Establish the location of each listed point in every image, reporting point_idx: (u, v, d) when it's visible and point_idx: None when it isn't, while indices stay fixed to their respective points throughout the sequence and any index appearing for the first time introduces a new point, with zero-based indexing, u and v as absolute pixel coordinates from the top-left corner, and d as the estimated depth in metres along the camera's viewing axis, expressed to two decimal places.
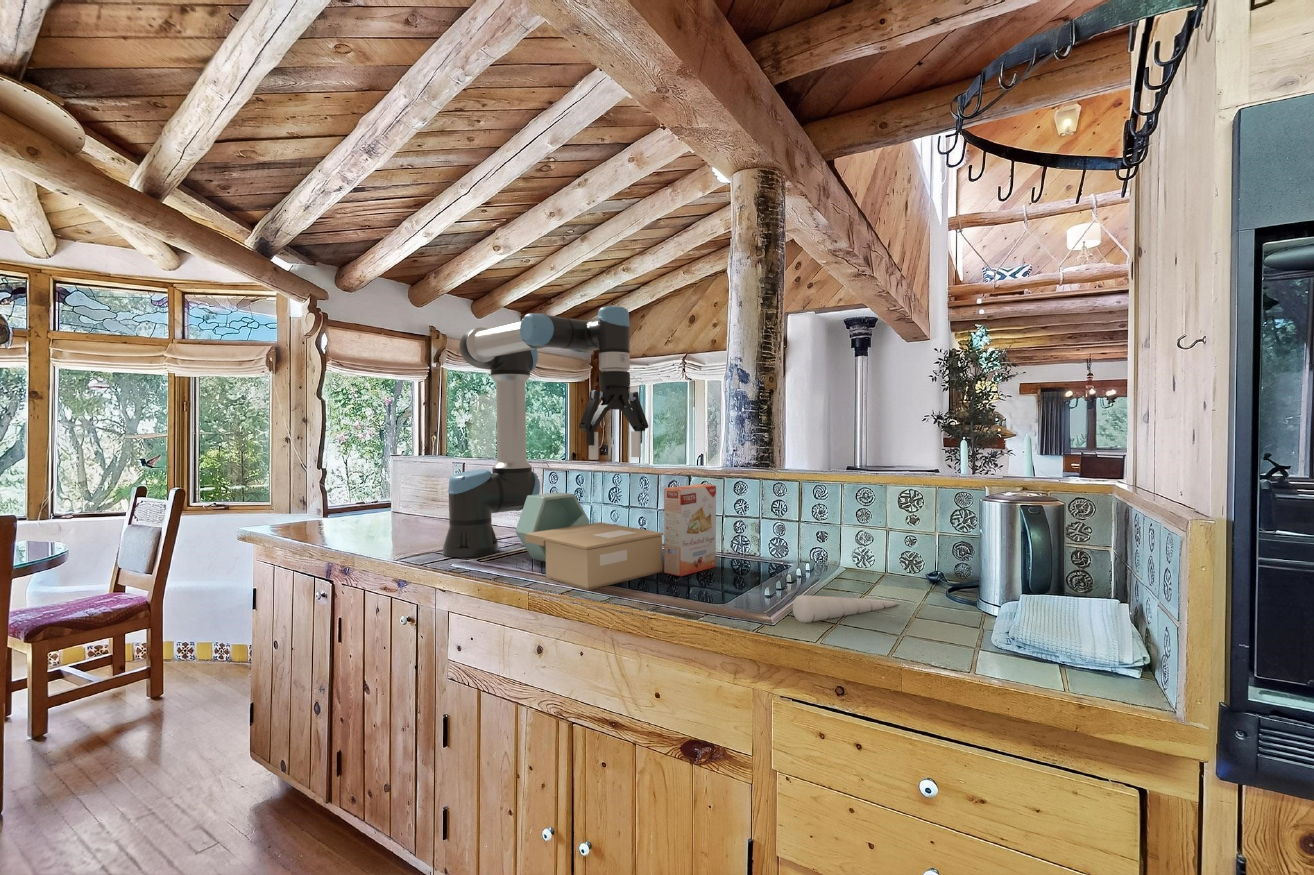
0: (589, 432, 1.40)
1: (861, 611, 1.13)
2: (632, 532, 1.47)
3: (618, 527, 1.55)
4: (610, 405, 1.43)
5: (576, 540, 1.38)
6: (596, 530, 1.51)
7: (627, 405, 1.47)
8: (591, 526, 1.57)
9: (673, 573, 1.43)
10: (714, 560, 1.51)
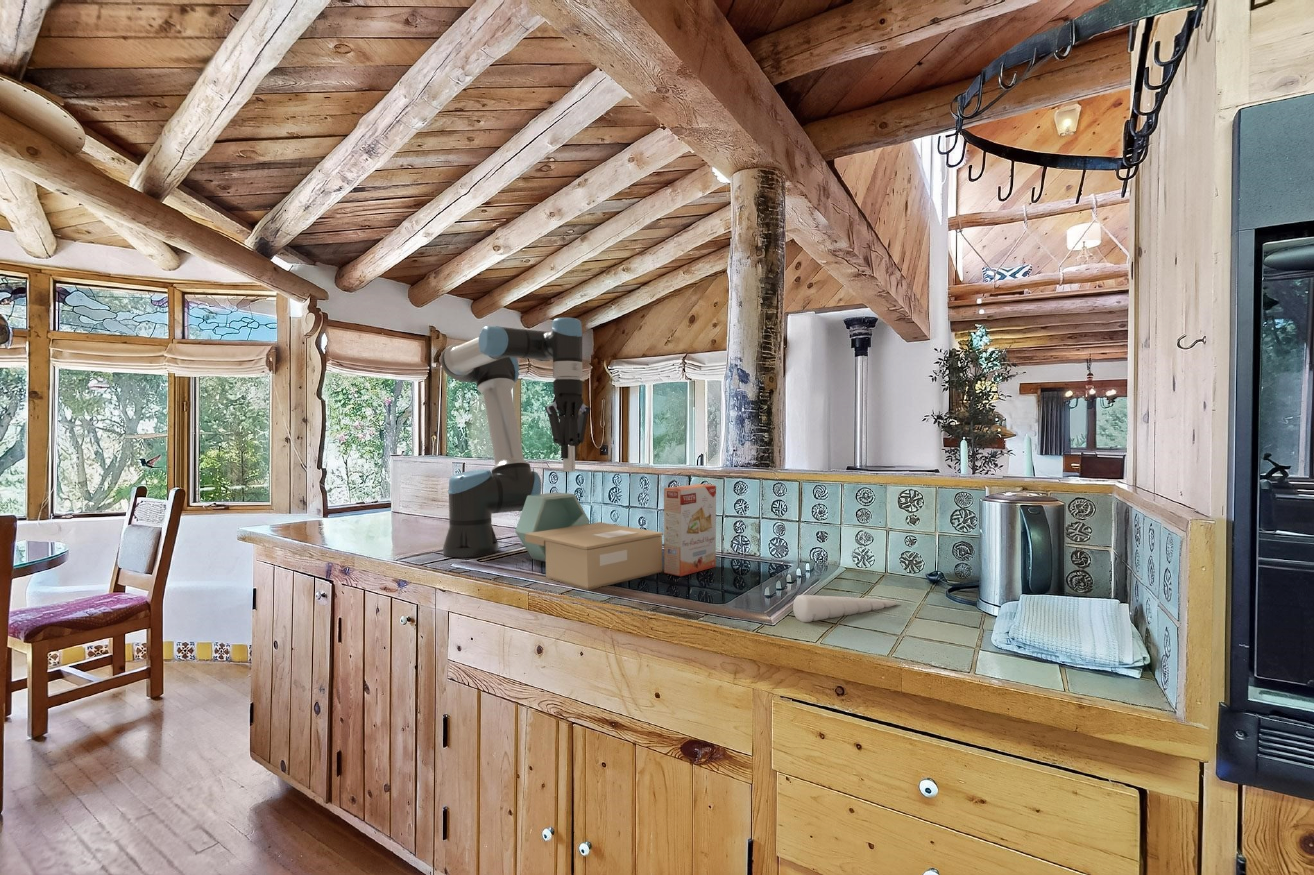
0: (563, 446, 1.52)
1: (861, 611, 1.13)
2: (632, 532, 1.47)
3: (618, 527, 1.55)
4: (568, 414, 1.52)
5: (576, 540, 1.38)
6: (596, 530, 1.51)
7: (575, 413, 1.53)
8: (591, 526, 1.57)
9: (673, 573, 1.43)
10: (714, 560, 1.51)
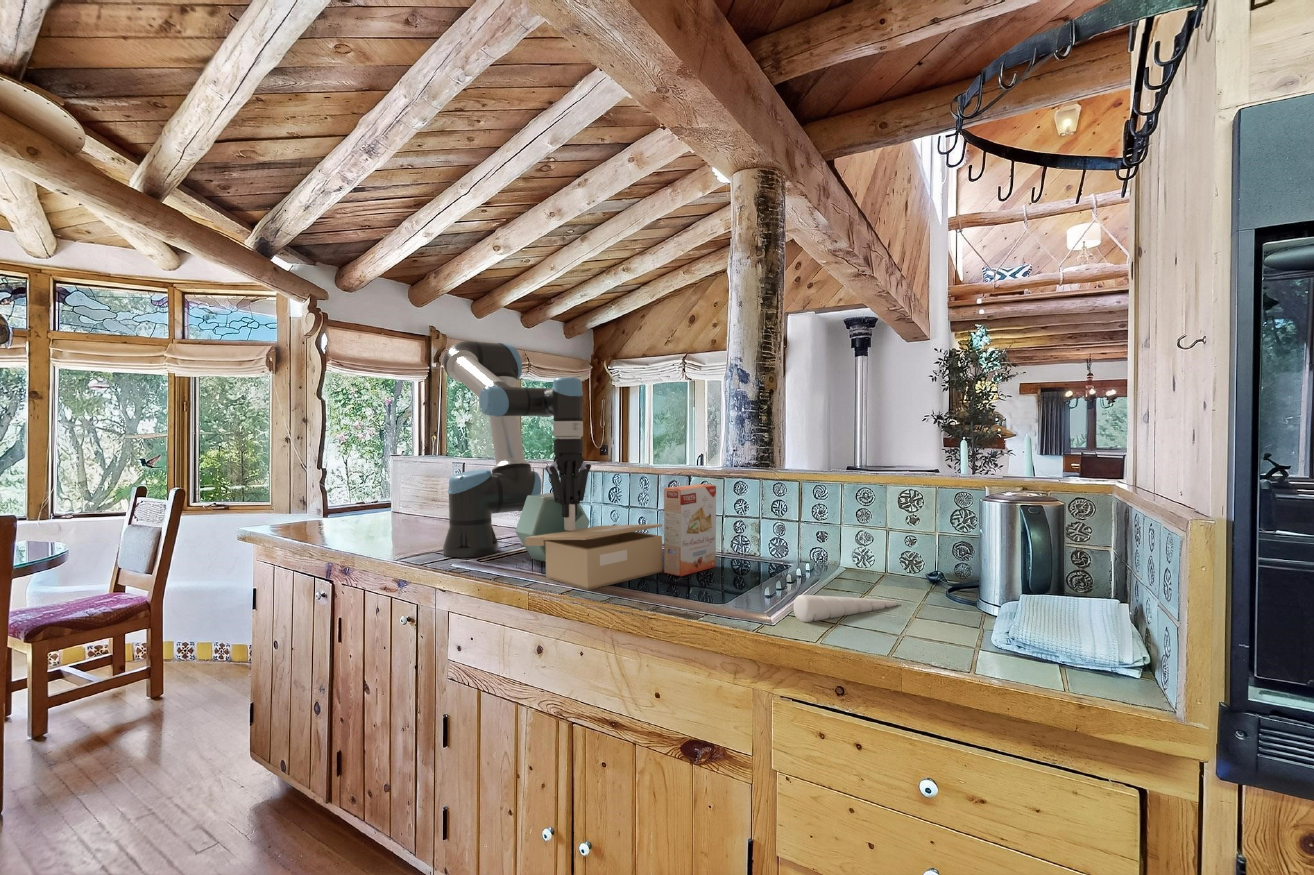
0: (564, 505, 1.53)
1: (862, 611, 1.13)
2: (631, 526, 1.47)
3: (617, 526, 1.55)
4: (569, 473, 1.52)
5: (575, 535, 1.38)
6: (595, 529, 1.51)
7: (576, 472, 1.54)
8: (591, 528, 1.57)
9: (673, 573, 1.43)
10: (714, 560, 1.51)
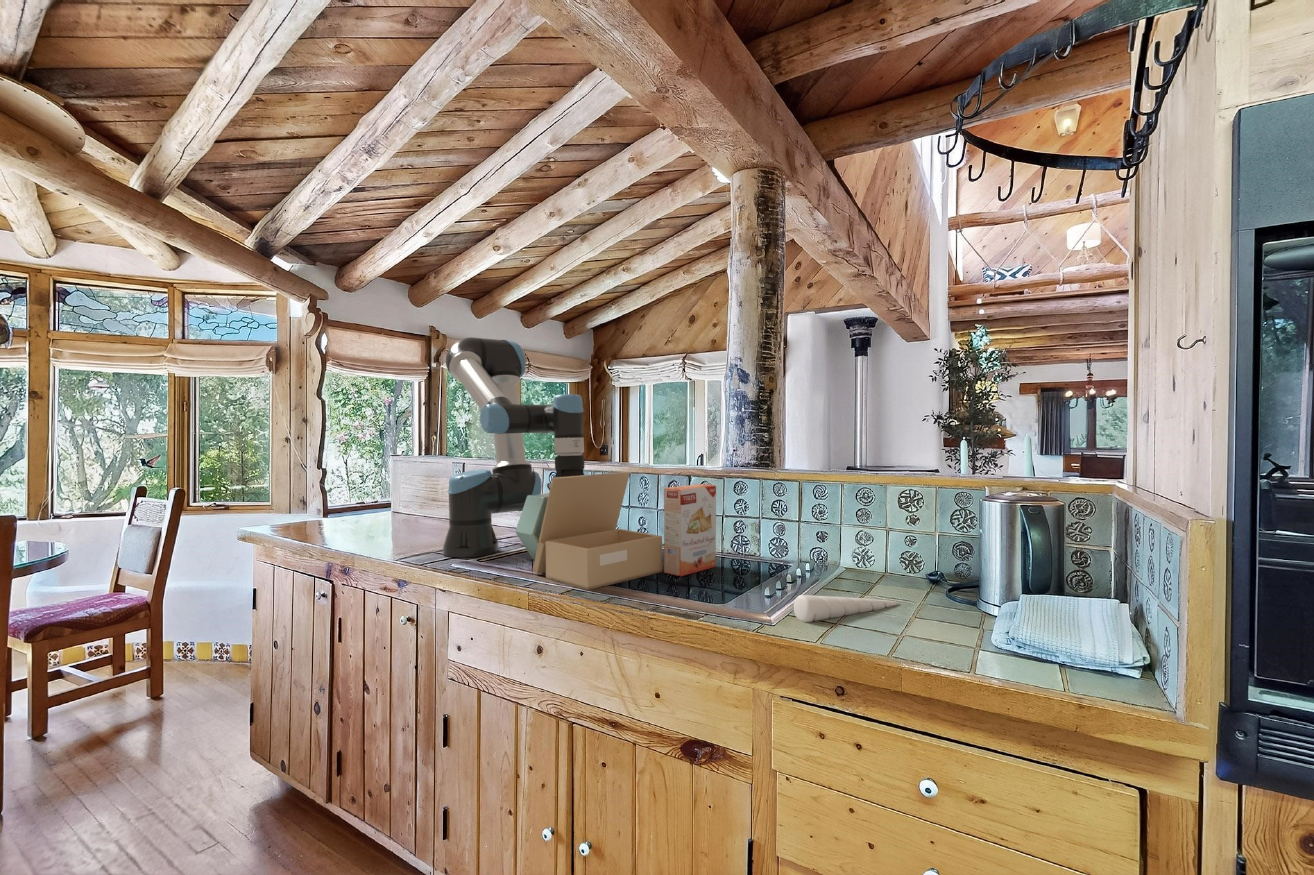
0: None
1: (862, 611, 1.13)
2: None
3: None
4: None
5: None
6: None
7: None
8: None
9: (673, 573, 1.43)
10: (714, 560, 1.51)
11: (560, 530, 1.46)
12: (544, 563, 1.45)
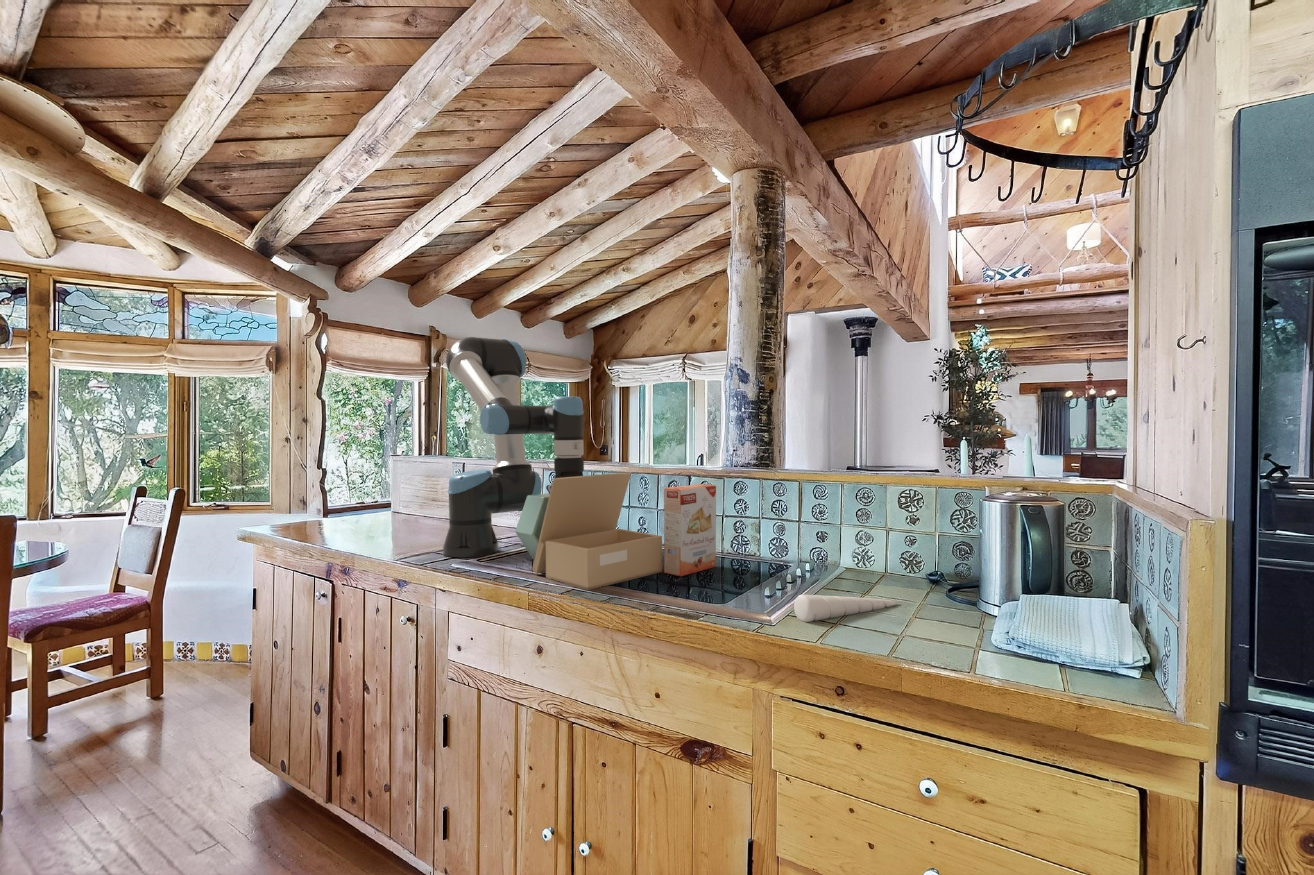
0: None
1: (862, 610, 1.13)
2: None
3: None
4: None
5: None
6: None
7: None
8: None
9: (673, 573, 1.43)
10: (714, 560, 1.51)
11: (560, 530, 1.46)
12: (544, 563, 1.45)
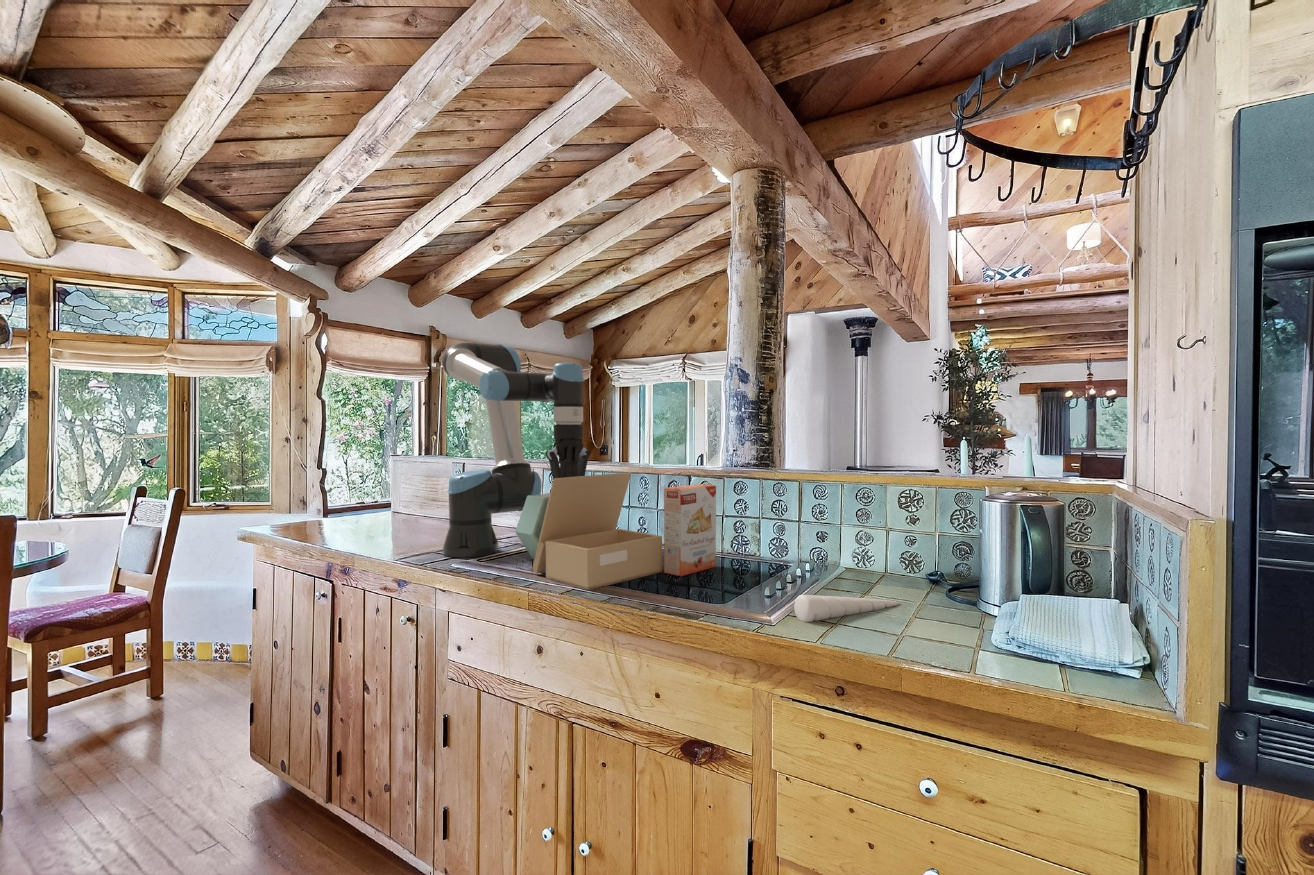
0: None
1: (862, 611, 1.13)
2: None
3: None
4: (568, 459, 1.52)
5: None
6: None
7: (576, 457, 1.54)
8: None
9: (673, 573, 1.43)
10: (714, 560, 1.51)
11: (560, 530, 1.46)
12: (544, 563, 1.45)
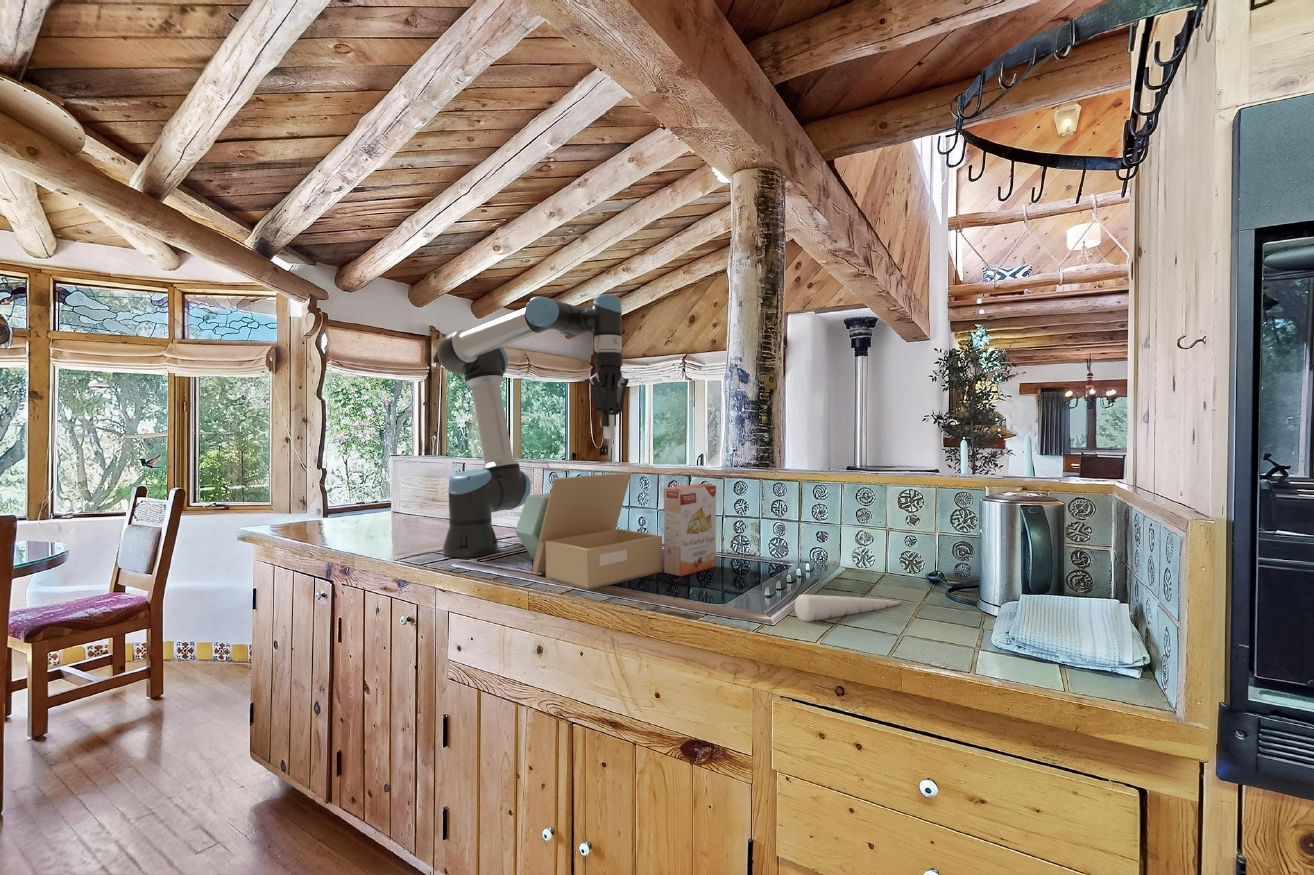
0: (604, 415, 1.63)
1: (863, 610, 1.13)
2: None
3: None
4: (609, 384, 1.62)
5: None
6: None
7: (615, 384, 1.64)
8: None
9: (673, 573, 1.43)
10: (714, 560, 1.51)
11: (560, 530, 1.46)
12: (544, 563, 1.45)
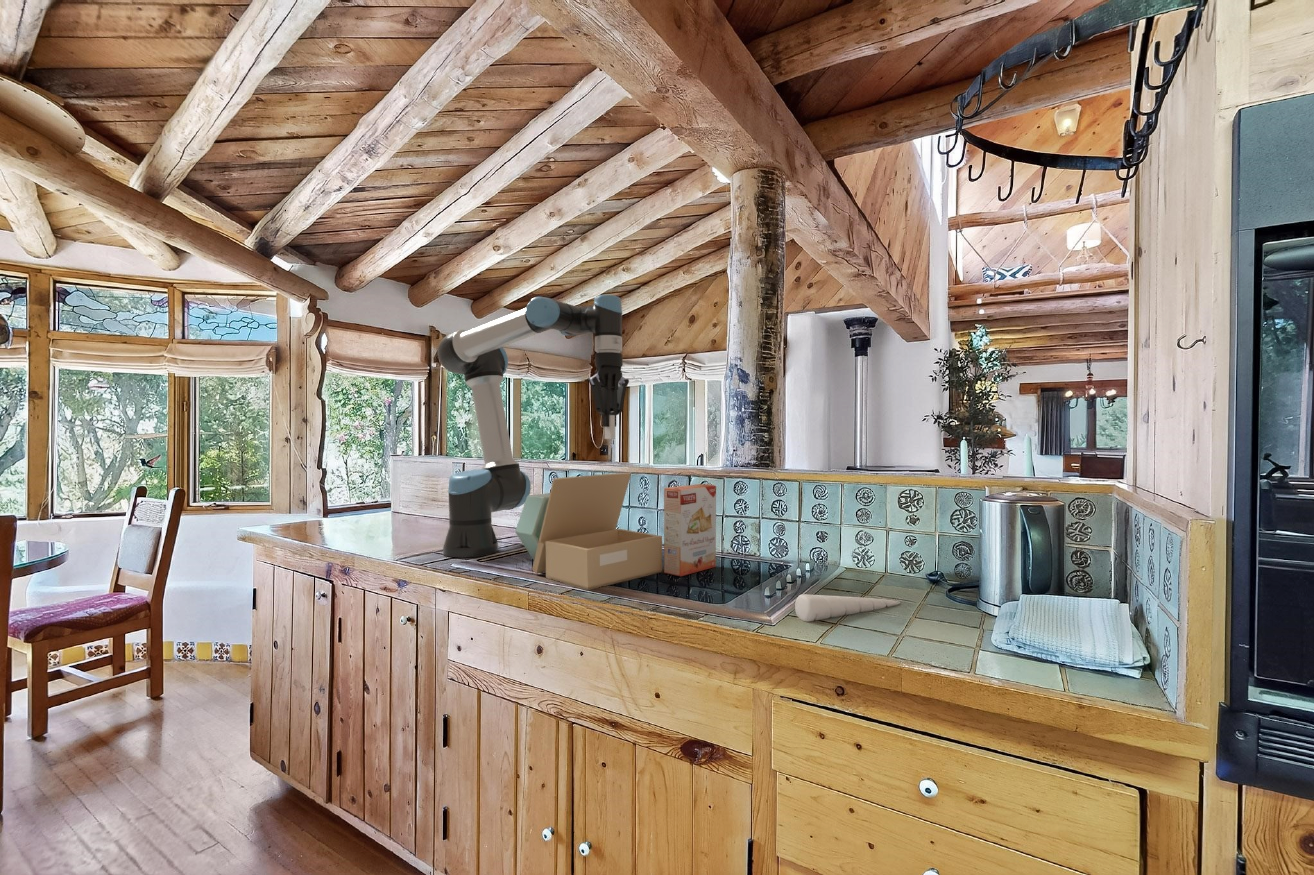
0: (605, 415, 1.63)
1: (863, 610, 1.13)
2: None
3: None
4: (609, 385, 1.62)
5: None
6: None
7: (615, 384, 1.64)
8: None
9: (673, 573, 1.43)
10: (714, 560, 1.51)
11: (560, 530, 1.46)
12: (544, 563, 1.45)
